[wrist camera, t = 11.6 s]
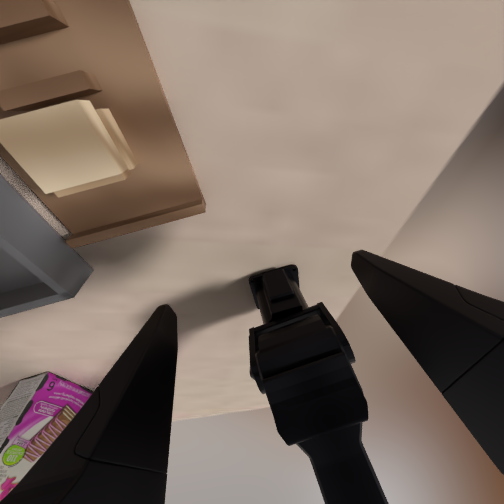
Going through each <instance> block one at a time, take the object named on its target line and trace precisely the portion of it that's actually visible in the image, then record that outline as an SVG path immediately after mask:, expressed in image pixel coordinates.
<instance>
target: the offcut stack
mask: <svg viewBox="0 0 504 504" xmlns="http://www.w3.org/2000/svg"><path fill="white" fill-rule="evenodd" d="M0 143H1V144H2V145H3V146H4V148H5V149H6V150H7V151H8V152H9V153H10V154H11V155H12V157H13V158H14V159H15V160H16V161H17V162H18V163H19V165H20V166H21V167H22V168H23V169H24V170H25V171H26V172H27V174H28V175H29V176H30V177H31V178H32V179H33V180H34V181H35V183H36V184H37V185H38V186H39V187H40V188H41V189H42V191H43V192H44V193H45V194H48V193H52V192H54V193H55V194H56V196H57V197H58V198H59V197H63V196H66V195H70V194H74V193H77V192H81V191H85V190H89V189H92V188H96V187H100V186H104V185H107V184H111V183H115V182H118V181H122V180H125V179H126V178H128V177H129V176H130V175H131V173H130V171H129V170H131V169H134V168H135V167H136V166H137V165H139V164H138V162H137V161H136V159H135V157H134V155H133V153H132V151H131V149H130V147H129V146H128V144H127V142H126V140H125V138H124V136H123V134H122V132H121V131H120V129H119V127H118V125H117V123H116V121H115V119H114V117H113V116H112V114H111V112H110V110H109V109H96V110H95V109H94V107H93V105H92V104H91V102H90V101H88V100H73V101H69V102H65V103H61V104H58V105H54V106H50V107H46V108H42V109H38V110H35V111H31V112H27V113H23V114H19V115H15V116H12V117H8V118H4V119H0Z"/></svg>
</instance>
